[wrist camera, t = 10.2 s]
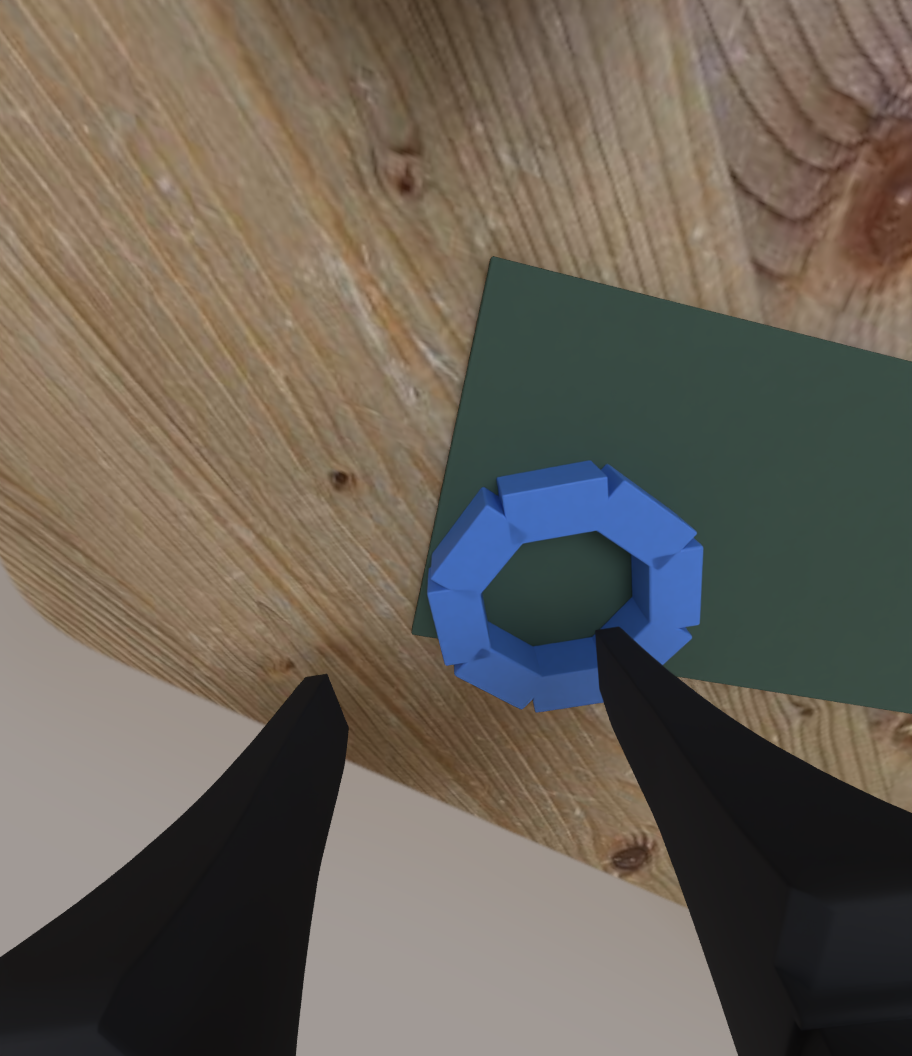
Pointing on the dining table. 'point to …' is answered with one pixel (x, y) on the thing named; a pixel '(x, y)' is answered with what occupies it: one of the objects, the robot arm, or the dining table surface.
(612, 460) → the mat
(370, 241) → the dining table surface
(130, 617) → the dining table surface
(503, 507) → the ring
